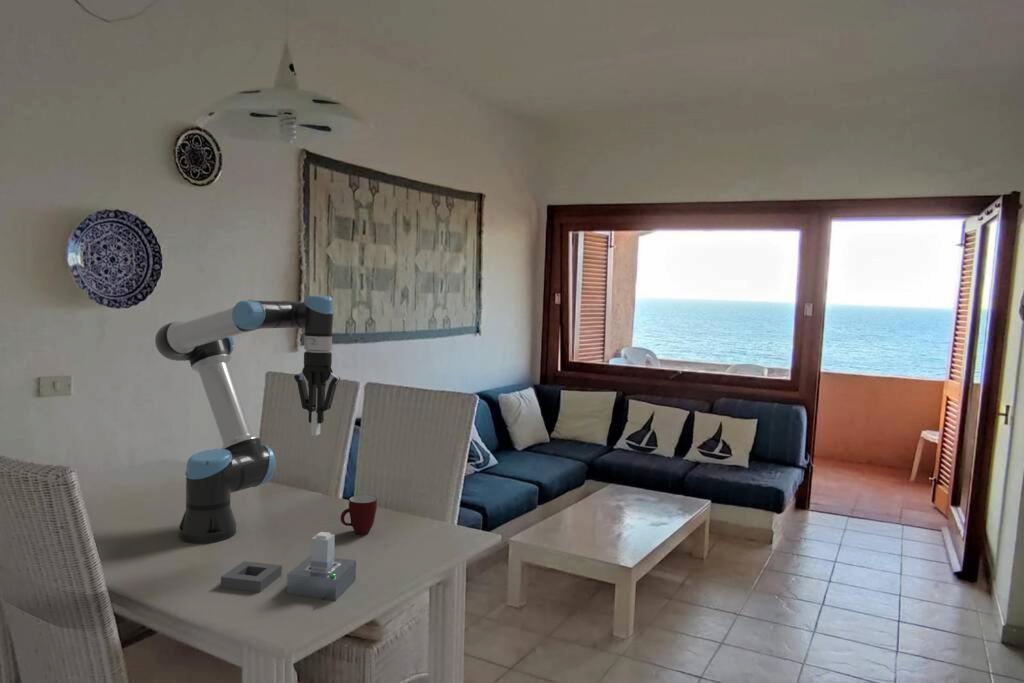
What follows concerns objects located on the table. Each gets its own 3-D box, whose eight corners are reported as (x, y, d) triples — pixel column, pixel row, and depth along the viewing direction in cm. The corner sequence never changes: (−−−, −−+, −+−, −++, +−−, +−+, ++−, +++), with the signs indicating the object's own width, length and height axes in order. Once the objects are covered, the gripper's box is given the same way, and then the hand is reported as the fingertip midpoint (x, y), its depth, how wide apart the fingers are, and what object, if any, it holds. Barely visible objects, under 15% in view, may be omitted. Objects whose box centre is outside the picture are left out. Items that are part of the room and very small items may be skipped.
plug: (309, 588, 163) (311, 536, 162) (317, 581, 167) (319, 530, 166) (326, 590, 162) (328, 537, 161) (333, 582, 166) (335, 531, 165)
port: (286, 595, 160) (287, 571, 159) (309, 575, 171) (310, 553, 171) (335, 601, 158) (336, 577, 157) (355, 580, 170) (356, 558, 169)
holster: (220, 589, 161) (220, 576, 161) (243, 572, 171) (244, 561, 171) (260, 594, 160) (260, 581, 159) (281, 577, 169) (281, 565, 169)
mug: (347, 540, 197) (348, 505, 196) (335, 532, 203) (336, 498, 202) (380, 533, 203) (381, 500, 202) (368, 525, 209) (369, 493, 209)
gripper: (289, 350, 189) (287, 435, 191) (334, 353, 187) (331, 438, 189) (302, 348, 197) (300, 430, 198) (345, 351, 195) (342, 433, 196)
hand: (315, 434), depth 194 cm, fingers closed
